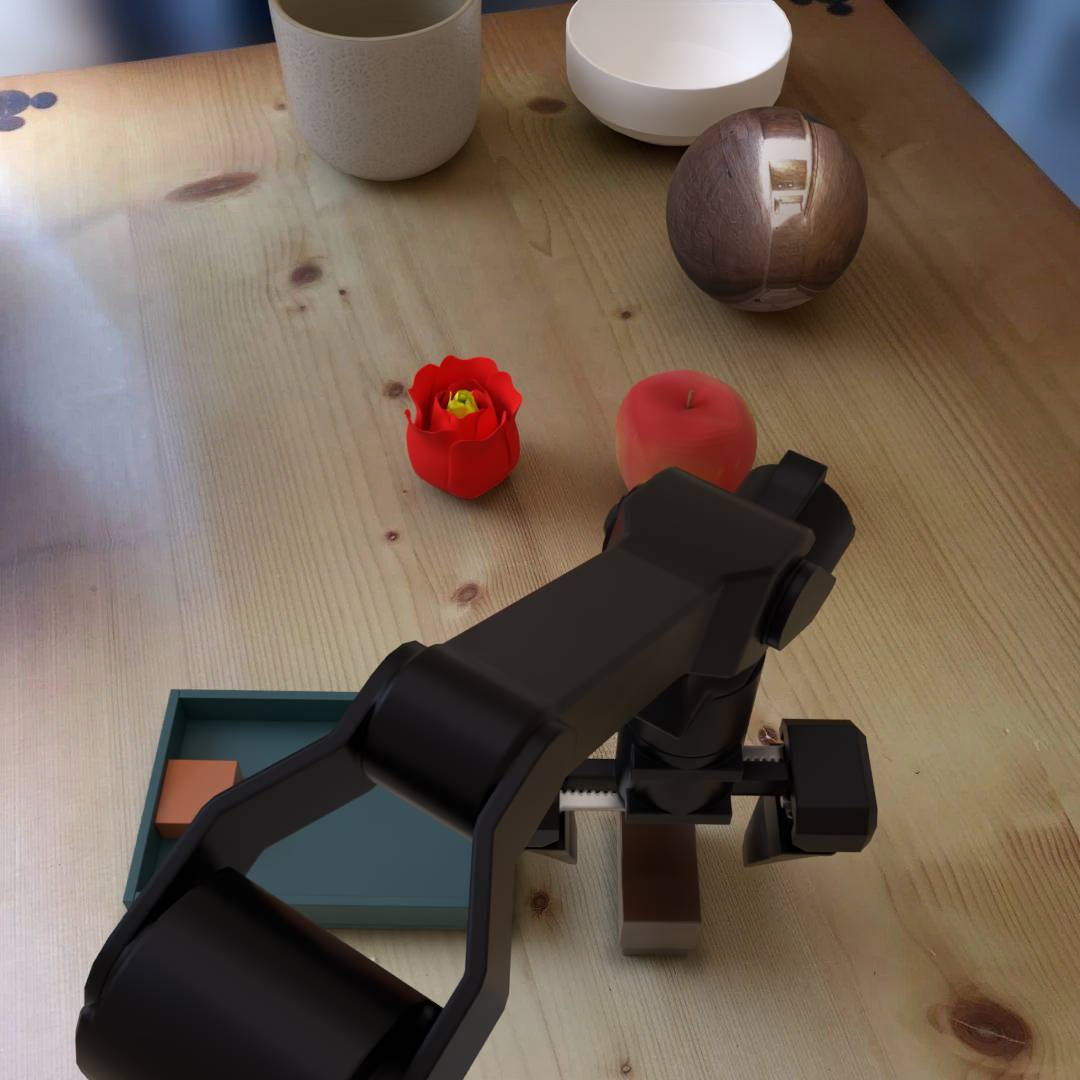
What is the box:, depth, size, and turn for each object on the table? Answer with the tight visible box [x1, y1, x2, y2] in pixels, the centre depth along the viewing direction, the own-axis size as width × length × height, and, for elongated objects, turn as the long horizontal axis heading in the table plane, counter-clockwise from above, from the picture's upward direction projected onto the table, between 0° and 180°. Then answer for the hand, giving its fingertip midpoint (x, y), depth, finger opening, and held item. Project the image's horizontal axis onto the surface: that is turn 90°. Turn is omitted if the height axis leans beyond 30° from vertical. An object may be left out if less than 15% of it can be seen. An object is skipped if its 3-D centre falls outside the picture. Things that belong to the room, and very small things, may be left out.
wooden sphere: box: [665, 105, 869, 313], centre depth 98 cm, size 15×15×15 cm
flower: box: [404, 354, 523, 500], centre depth 88 cm, size 8×8×8 cm
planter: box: [267, 0, 483, 182], centre depth 110 cm, size 17×17×15 cm
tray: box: [122, 688, 472, 931], centre depth 74 cm, size 20×13×3 cm, turn 89°
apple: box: [613, 369, 758, 493], centre depth 86 cm, size 10×10×10 cm
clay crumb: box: [154, 760, 244, 839], centre depth 74 cm, size 4×4×2 cm
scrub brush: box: [615, 811, 703, 957], centre depth 70 cm, size 4×8×5 cm, turn 179°
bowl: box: [565, 0, 793, 147], centre depth 116 cm, size 20×20×8 cm
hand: (659, 856), depth 69 cm, fingers open, 9 cm apart
